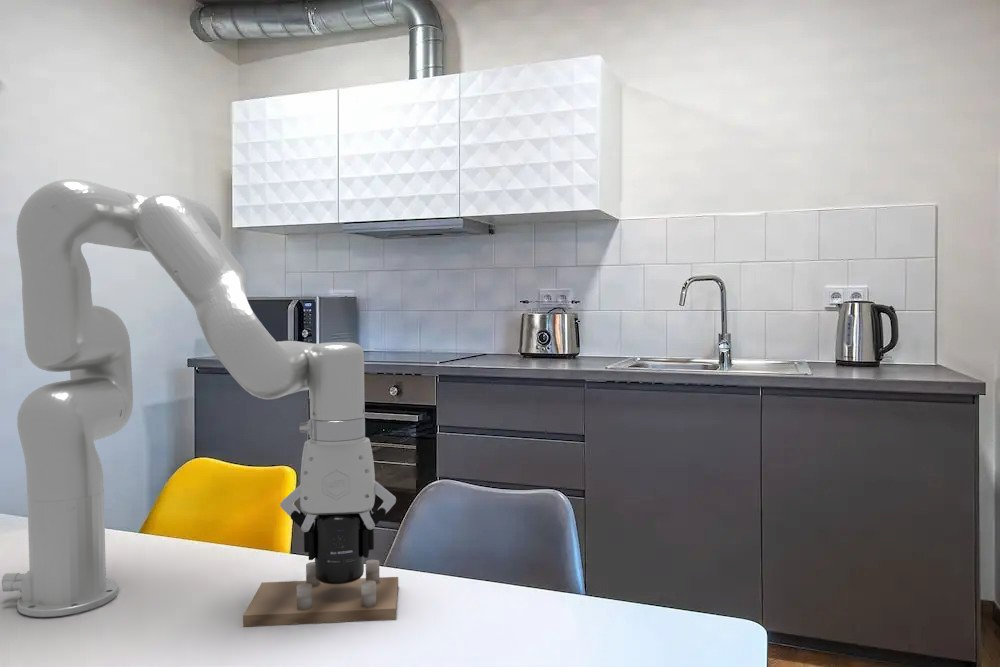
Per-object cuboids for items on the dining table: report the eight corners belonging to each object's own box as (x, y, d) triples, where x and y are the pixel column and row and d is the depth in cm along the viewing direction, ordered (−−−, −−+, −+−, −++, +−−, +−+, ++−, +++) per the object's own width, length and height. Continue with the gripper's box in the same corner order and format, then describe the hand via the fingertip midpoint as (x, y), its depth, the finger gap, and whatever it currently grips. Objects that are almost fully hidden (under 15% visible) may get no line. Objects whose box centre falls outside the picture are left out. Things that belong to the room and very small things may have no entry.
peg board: (243, 626, 100) (242, 593, 100) (261, 592, 112) (261, 562, 112) (396, 619, 102) (395, 586, 102) (398, 586, 114) (398, 557, 114)
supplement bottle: (337, 589, 102) (335, 501, 102) (304, 578, 106) (303, 494, 106) (374, 574, 108) (373, 491, 107) (342, 565, 112) (341, 484, 111)
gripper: (269, 436, 102) (271, 567, 102) (399, 433, 104) (401, 562, 104) (279, 427, 109) (281, 550, 110) (400, 424, 111) (402, 545, 112)
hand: (339, 554), depth 107 cm, fingers closed on supplement bottle, 6 cm apart
